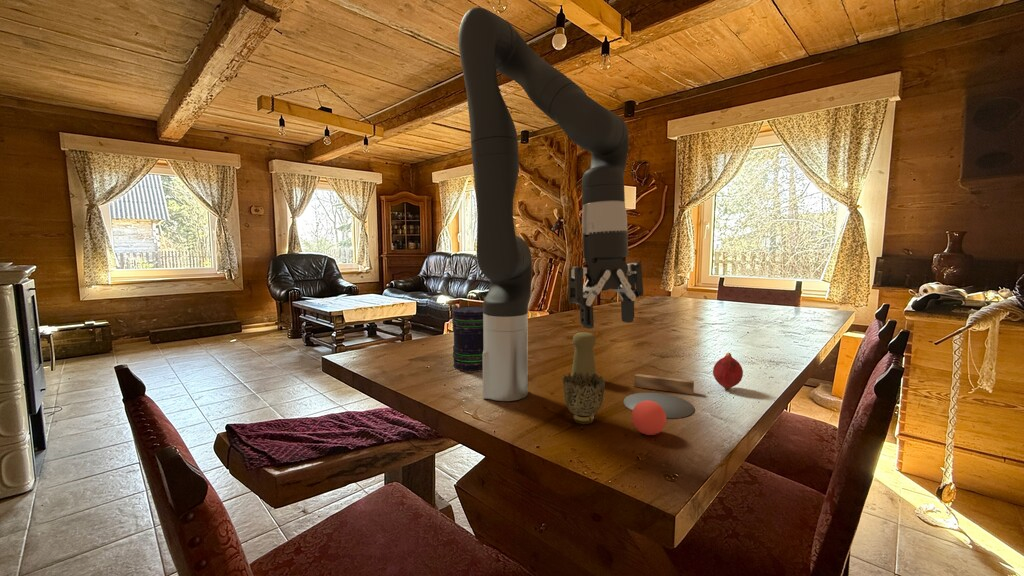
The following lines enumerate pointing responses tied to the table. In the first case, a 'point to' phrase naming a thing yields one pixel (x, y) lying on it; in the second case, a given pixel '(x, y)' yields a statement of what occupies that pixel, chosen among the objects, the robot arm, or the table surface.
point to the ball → (648, 417)
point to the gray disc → (662, 403)
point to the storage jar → (468, 338)
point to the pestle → (583, 353)
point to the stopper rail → (664, 383)
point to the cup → (583, 395)
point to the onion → (727, 371)
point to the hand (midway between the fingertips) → (608, 324)
